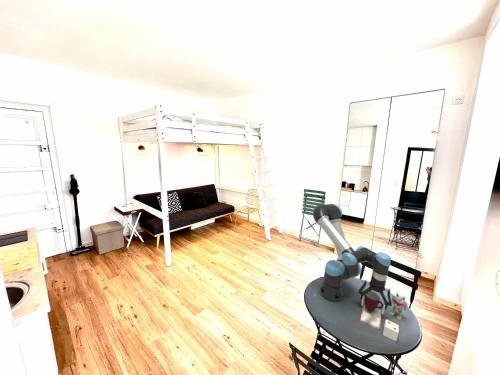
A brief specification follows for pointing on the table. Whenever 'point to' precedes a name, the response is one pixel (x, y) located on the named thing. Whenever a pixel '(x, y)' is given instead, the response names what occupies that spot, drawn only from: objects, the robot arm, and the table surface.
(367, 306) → the mug
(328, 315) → the table surface
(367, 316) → the board
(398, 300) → the figurine
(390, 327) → the die
